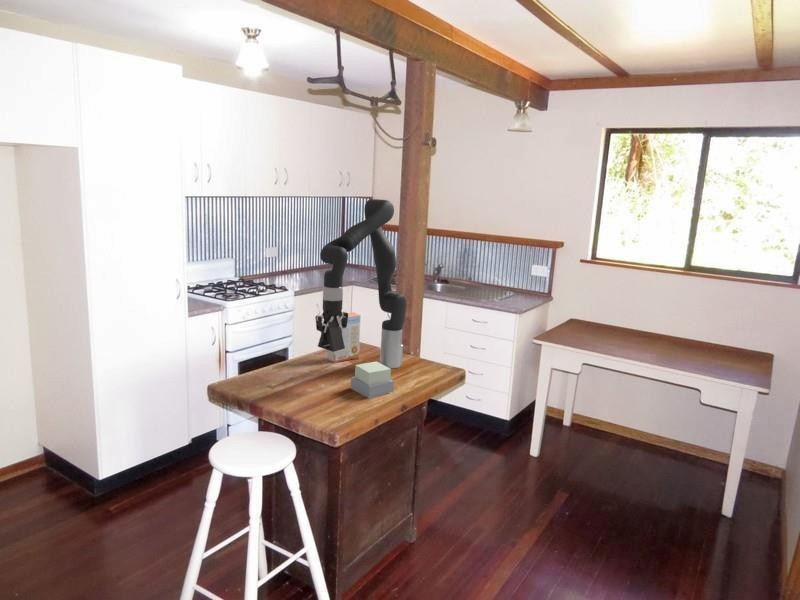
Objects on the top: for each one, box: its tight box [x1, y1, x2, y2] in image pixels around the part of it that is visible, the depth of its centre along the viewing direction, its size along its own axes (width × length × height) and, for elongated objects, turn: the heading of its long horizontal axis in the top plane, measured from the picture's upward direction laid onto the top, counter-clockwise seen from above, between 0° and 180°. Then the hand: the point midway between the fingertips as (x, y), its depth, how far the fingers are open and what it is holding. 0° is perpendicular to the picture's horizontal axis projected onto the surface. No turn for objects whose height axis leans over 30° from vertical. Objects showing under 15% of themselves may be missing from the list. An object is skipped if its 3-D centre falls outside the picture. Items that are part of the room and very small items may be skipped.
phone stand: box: [317, 319, 345, 352], centre depth 215 cm, size 9×6×12 cm, turn 50°
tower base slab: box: [350, 376, 395, 399], centre depth 218 cm, size 12×12×5 cm
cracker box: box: [327, 312, 361, 363], centre depth 252 cm, size 14×6×21 cm, turn 130°
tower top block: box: [354, 361, 392, 385], centre depth 217 cm, size 10×10×5 cm
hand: (331, 339), depth 215 cm, fingers closed on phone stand, 6 cm apart
